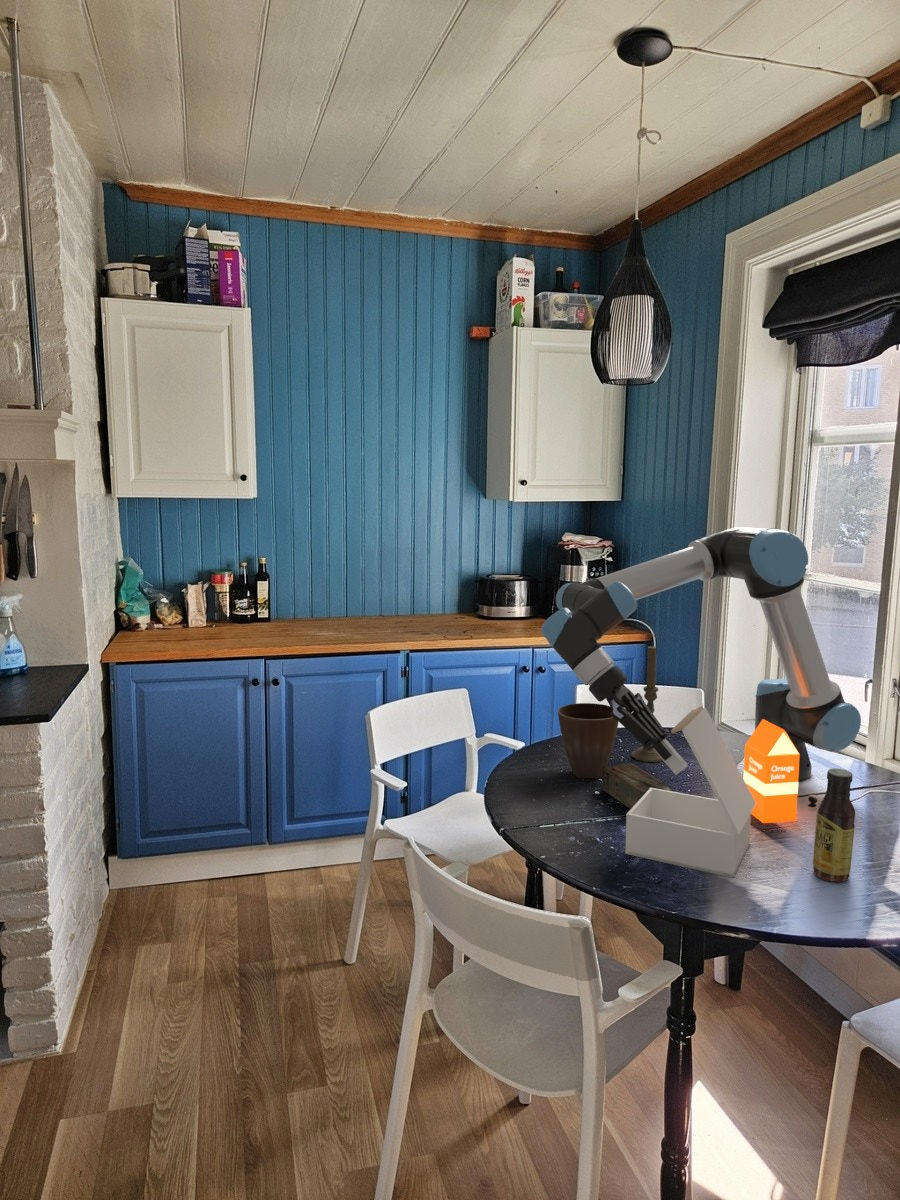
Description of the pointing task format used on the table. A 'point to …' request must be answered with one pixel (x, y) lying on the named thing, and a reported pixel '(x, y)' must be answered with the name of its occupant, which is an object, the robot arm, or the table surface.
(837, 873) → the sauce bottle
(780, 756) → the orange juice
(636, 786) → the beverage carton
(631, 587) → the robot arm
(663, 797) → the box
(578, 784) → the table surface
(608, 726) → the plant pot
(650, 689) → the candlestick holder
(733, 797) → the mailer lid
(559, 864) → the table surface
